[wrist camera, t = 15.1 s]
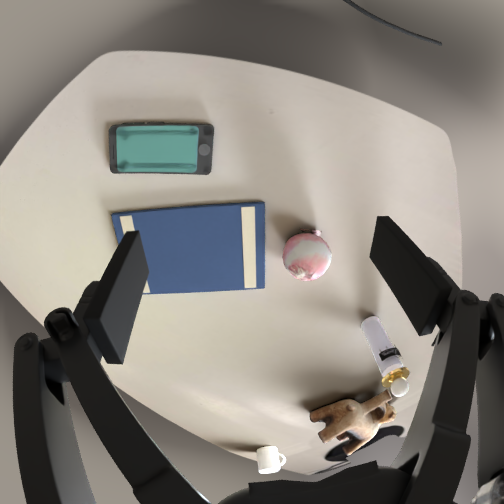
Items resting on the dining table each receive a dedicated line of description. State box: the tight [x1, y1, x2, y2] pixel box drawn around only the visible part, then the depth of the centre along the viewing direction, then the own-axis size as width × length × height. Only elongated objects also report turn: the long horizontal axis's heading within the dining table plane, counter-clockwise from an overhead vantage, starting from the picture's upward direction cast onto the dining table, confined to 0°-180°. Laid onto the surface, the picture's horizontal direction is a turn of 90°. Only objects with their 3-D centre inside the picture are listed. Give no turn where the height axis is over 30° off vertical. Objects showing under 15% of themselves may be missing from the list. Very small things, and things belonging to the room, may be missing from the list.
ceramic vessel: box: [310, 389, 397, 455], centre depth 80 cm, size 13×31×25 cm
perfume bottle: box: [361, 316, 409, 396], centre depth 53 cm, size 6×6×20 cm
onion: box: [283, 228, 332, 281], centre depth 46 cm, size 8×8×7 cm
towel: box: [111, 202, 265, 294], centre depth 48 cm, size 24×16×1 cm, turn 91°
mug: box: [257, 446, 286, 473], centre depth 93 cm, size 8×12×10 cm
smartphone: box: [109, 122, 214, 175], centre depth 38 cm, size 7×1×15 cm
